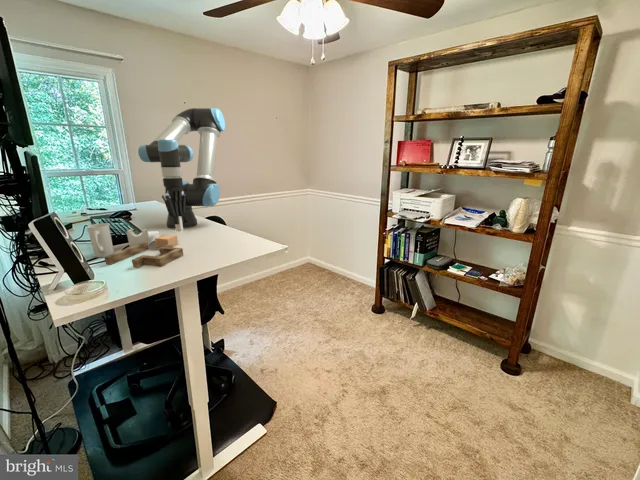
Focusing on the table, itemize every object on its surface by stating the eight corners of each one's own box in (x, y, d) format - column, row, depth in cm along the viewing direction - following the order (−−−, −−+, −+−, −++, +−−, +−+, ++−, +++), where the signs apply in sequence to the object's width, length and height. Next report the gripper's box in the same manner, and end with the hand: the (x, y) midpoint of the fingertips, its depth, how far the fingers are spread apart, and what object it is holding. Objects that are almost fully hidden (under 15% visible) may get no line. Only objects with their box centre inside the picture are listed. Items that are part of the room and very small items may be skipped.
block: (166, 244, 132) (164, 234, 131) (178, 245, 131) (176, 235, 130) (156, 248, 127) (154, 238, 125) (169, 249, 126) (167, 239, 124)
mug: (97, 253, 121) (90, 224, 117) (116, 251, 123) (110, 222, 120) (89, 261, 112) (81, 230, 109) (110, 259, 114) (103, 228, 111)
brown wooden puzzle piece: (144, 248, 126) (143, 242, 125) (188, 252, 121) (187, 245, 120) (106, 264, 109) (104, 256, 108) (154, 270, 104) (153, 262, 103)
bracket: (147, 247, 128) (144, 230, 126) (130, 248, 128) (126, 231, 125) (159, 238, 141) (157, 222, 139) (143, 239, 140) (140, 223, 138)
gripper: (175, 176, 136) (182, 226, 142) (153, 178, 124) (162, 233, 130) (189, 176, 134) (196, 227, 141) (169, 178, 122) (176, 235, 128)
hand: (179, 230), depth 135 cm, fingers closed
